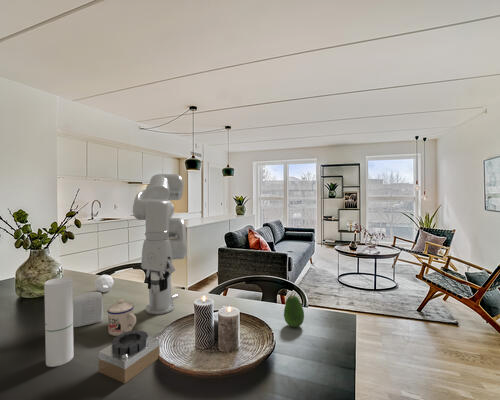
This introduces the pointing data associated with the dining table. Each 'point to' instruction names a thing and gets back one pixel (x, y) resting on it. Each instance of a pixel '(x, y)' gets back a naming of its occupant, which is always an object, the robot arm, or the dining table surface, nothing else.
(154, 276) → the lens
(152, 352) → the camera body
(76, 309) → the photo printer
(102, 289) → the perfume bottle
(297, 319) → the avocado
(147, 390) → the dining table surface
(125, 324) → the teacup with lid
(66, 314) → the cylindrical container
